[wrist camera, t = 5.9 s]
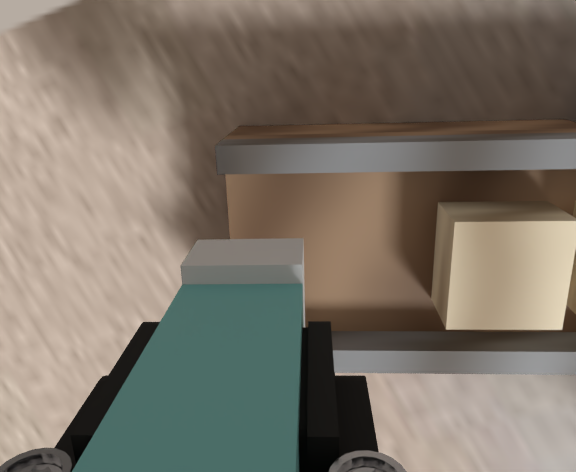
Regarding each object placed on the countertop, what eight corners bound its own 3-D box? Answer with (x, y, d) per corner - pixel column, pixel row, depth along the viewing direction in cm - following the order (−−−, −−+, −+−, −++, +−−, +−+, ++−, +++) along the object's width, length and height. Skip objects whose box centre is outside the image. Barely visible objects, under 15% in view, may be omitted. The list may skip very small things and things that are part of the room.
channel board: (662, 117, 21) (771, 135, 16) (622, 308, 24) (704, 375, 19) (238, 126, 23) (215, 145, 17) (249, 308, 25) (231, 371, 20)
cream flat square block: (547, 200, 19) (580, 220, 16) (533, 298, 20) (562, 330, 18) (437, 202, 19) (454, 222, 17) (431, 298, 20) (445, 329, 18)
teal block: (303, 238, 14) (288, 580, 5) (306, 390, 16) (299, 873, 6) (197, 239, 14) (-21, 573, 5) (211, 389, 16) (64, 863, 6)
